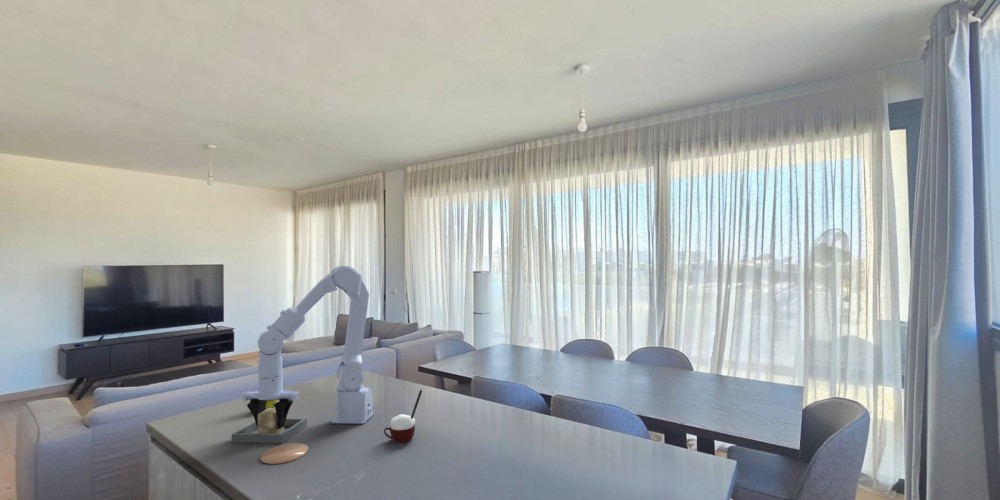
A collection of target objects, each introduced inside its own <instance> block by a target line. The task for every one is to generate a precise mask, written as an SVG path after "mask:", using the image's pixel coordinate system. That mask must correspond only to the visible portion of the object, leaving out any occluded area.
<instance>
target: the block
mask: <svg viewBox="0 0 1000 500" xmlns="http://www.w3.org/2000/svg"><path fill="white" fill-rule="evenodd" d="M284 428H285V426H284V427H283V428H281V429H278V428H277V414H276V409H275V408H268V409H267V410H265V411H263V412H261V413H259V414H258V429H257V433H265V434H281V433H282V432H284V431H285V429H284ZM281 431H282V432H281Z"/></svg>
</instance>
